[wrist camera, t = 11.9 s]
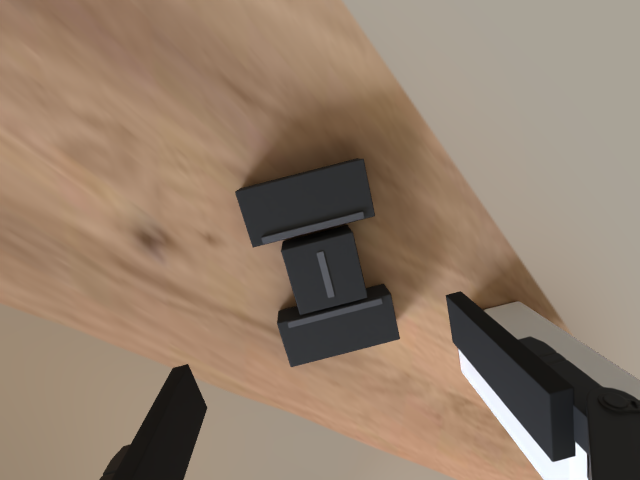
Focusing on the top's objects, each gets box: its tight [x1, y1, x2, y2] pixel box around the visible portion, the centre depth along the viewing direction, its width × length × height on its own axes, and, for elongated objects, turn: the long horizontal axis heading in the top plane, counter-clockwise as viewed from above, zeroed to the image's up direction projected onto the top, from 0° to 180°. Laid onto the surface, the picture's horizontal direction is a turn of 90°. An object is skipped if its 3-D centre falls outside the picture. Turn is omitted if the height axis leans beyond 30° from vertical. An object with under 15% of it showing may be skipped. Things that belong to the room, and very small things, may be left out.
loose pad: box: [281, 225, 367, 315], centre depth 30 cm, size 6×6×3 cm
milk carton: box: [458, 301, 640, 480], centre depth 26 cm, size 7×7×19 cm
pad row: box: [235, 158, 400, 367], centre depth 30 cm, size 18×11×3 cm, turn 14°
